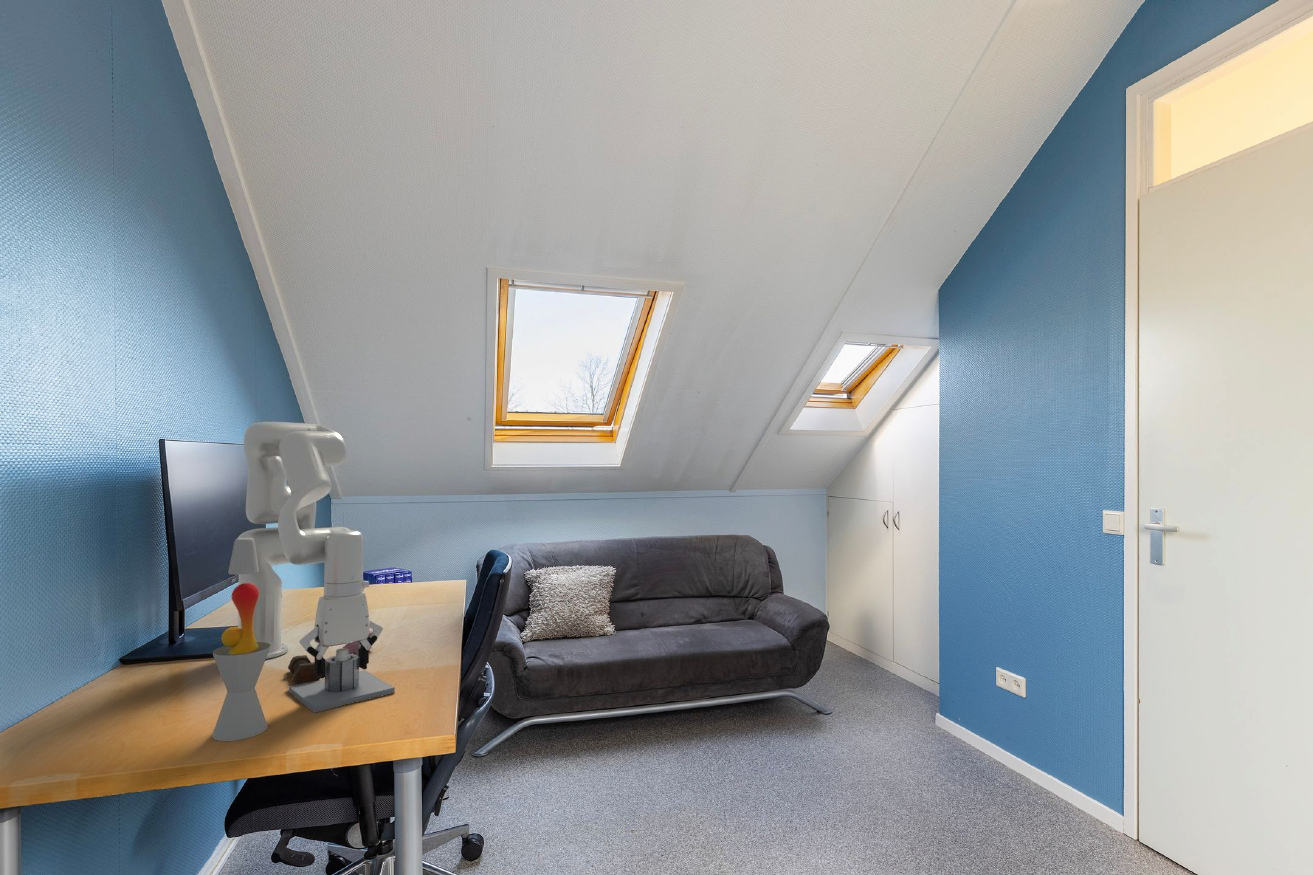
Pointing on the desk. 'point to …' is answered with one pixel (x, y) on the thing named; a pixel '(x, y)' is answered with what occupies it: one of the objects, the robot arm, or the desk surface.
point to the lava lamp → (241, 656)
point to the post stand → (321, 699)
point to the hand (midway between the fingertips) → (342, 671)
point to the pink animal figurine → (354, 646)
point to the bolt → (302, 670)
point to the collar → (341, 674)
